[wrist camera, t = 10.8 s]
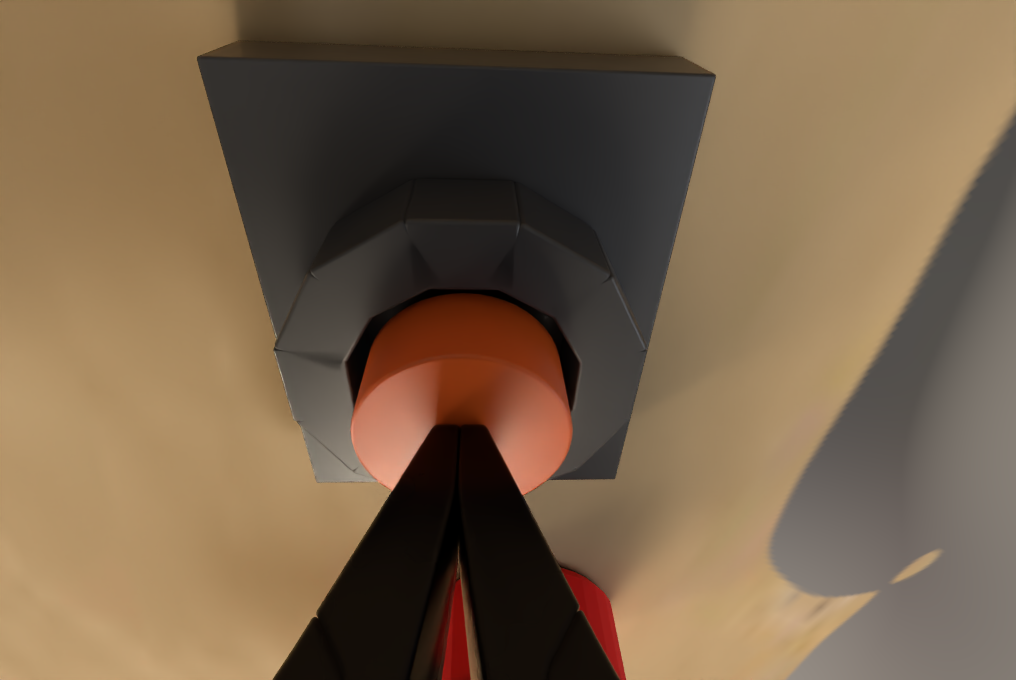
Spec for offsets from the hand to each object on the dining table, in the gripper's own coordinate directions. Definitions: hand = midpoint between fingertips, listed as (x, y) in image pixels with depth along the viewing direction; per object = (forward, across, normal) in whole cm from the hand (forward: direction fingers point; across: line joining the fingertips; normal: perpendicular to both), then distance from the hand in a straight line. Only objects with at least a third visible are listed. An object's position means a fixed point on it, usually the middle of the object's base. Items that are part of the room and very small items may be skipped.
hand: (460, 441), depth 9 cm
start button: (+2, 0, 0) cm, 2 cm away
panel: (+5, 0, 0) cm, 5 cm away
